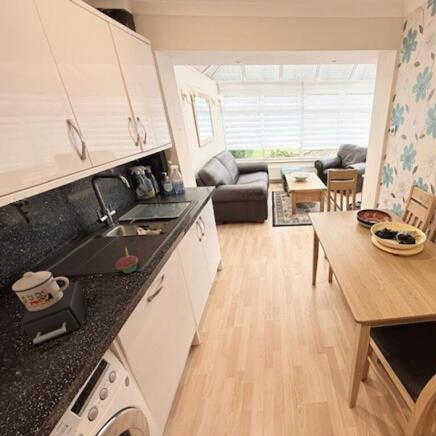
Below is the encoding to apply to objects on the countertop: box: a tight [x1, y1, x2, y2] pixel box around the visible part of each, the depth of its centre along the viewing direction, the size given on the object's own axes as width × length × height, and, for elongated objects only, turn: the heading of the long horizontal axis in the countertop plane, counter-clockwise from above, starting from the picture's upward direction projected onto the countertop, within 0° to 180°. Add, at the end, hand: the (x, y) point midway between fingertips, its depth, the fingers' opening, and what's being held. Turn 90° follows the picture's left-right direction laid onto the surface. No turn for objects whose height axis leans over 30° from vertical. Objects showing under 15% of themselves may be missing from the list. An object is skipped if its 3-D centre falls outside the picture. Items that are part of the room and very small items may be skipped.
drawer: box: [22, 309, 80, 346], centre depth 78 cm, size 17×10×8 cm, turn 33°
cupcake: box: [114, 247, 139, 274], centre depth 105 cm, size 9×8×12 cm
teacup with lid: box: [11, 270, 70, 311], centre depth 76 cm, size 12×9×12 cm
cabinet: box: [19, 281, 88, 341], centre depth 81 cm, size 15×12×10 cm
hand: (0, 229), depth 79 cm, fingers open, 13 cm apart
